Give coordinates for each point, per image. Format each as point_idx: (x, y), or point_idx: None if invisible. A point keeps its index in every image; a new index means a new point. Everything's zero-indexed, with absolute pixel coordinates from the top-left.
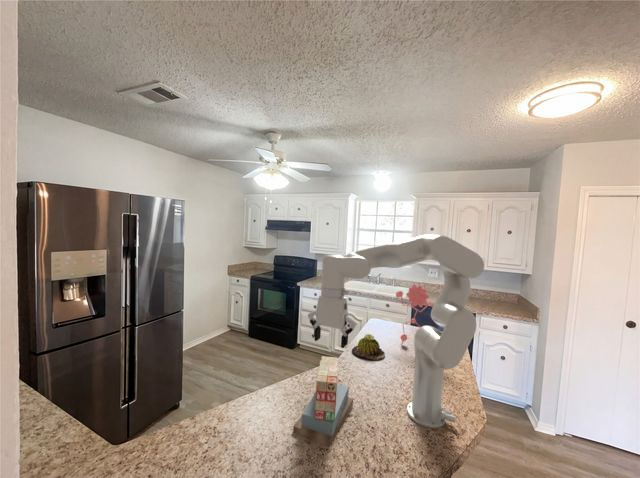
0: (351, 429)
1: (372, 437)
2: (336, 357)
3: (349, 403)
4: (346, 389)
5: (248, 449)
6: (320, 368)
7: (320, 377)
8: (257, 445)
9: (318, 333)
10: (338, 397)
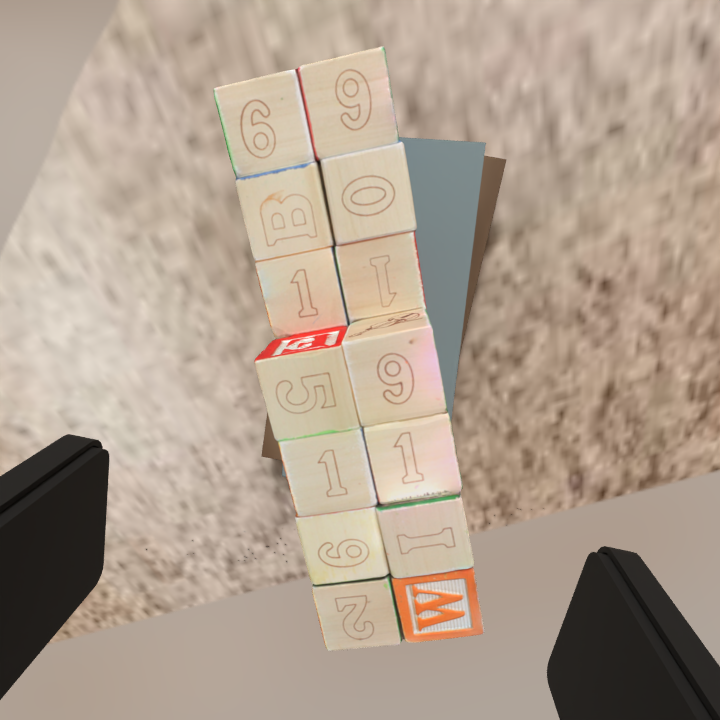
0: (504, 331)
1: (602, 346)
2: (370, 50)
3: (488, 213)
4: (473, 185)
5: (155, 537)
6: (302, 496)
7: (342, 610)
8: (173, 516)
9: (24, 602)
10: (434, 288)
